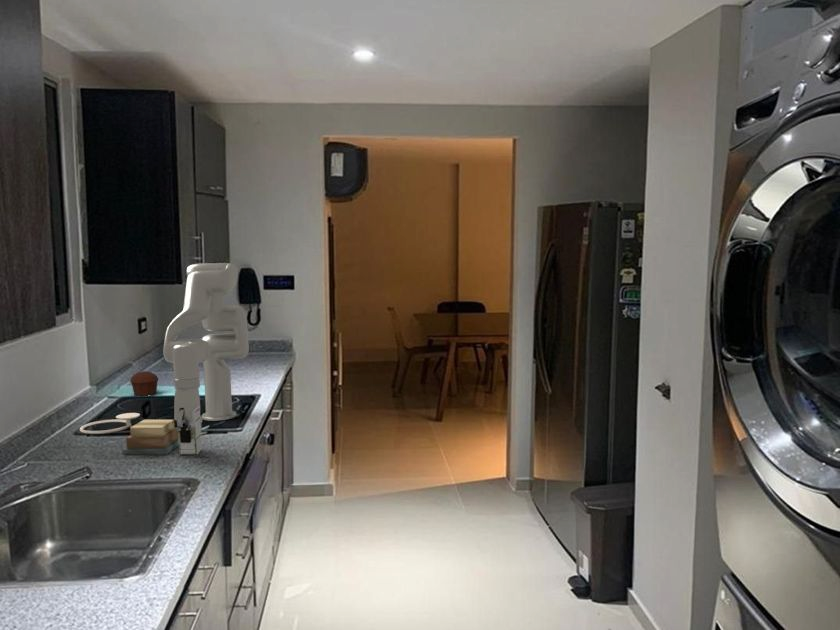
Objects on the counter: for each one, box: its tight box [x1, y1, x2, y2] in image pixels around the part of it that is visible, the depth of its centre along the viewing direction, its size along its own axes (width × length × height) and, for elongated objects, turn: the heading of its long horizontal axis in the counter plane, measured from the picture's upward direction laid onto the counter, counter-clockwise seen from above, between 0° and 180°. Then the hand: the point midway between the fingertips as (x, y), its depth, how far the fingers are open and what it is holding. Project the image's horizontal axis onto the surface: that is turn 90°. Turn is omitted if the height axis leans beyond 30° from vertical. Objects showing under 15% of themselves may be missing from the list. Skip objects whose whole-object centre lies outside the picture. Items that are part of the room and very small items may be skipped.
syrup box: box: [177, 406, 203, 456], centre depth 222 cm, size 6×6×14 cm
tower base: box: [121, 419, 179, 455], centre depth 228 cm, size 14×14×8 cm
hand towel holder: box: [79, 412, 141, 435], centre depth 254 cm, size 17×4×21 cm
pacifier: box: [200, 415, 210, 436], centre depth 244 cm, size 7×6×6 cm
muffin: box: [129, 371, 159, 397], centre depth 306 cm, size 12×11×10 cm
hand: (189, 438), depth 222 cm, fingers closed on syrup box, 6 cm apart
